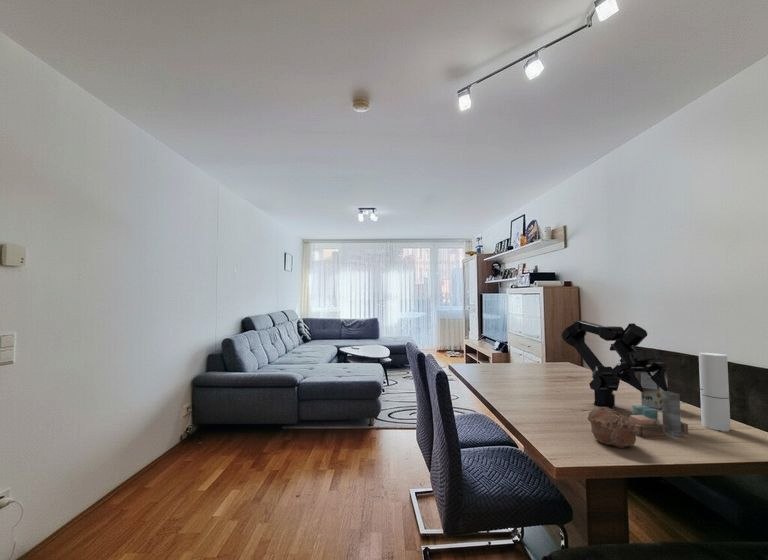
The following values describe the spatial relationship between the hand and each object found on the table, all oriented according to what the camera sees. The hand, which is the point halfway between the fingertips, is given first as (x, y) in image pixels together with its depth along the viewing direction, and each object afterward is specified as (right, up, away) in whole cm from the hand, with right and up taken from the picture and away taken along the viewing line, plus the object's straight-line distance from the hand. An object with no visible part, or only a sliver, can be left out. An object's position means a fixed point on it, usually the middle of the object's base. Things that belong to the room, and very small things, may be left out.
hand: (654, 391), depth 117 cm
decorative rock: (-24, -11, -14) cm, 30 cm away
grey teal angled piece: (0, -12, -1) cm, 12 cm away
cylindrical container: (+20, -12, -1) cm, 24 cm away
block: (-8, -12, -5) cm, 15 cm away
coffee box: (+19, -14, +23) cm, 32 cm away
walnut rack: (-4, -12, -5) cm, 13 cm away
